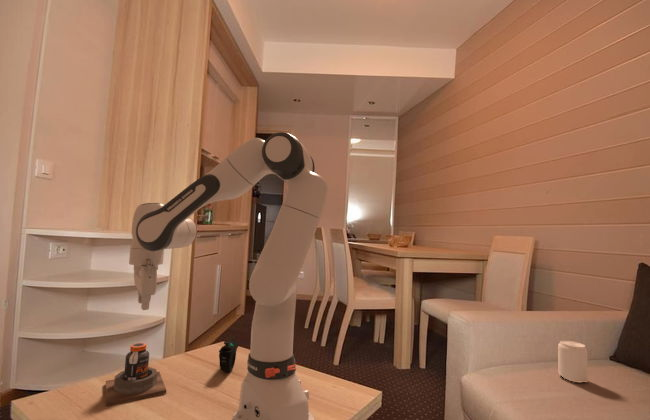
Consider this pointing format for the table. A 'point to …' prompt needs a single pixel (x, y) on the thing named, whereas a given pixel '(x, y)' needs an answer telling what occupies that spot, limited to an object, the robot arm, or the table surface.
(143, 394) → the holder
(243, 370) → the table surface
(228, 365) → the controller
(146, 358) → the pill bottle
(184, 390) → the table surface
